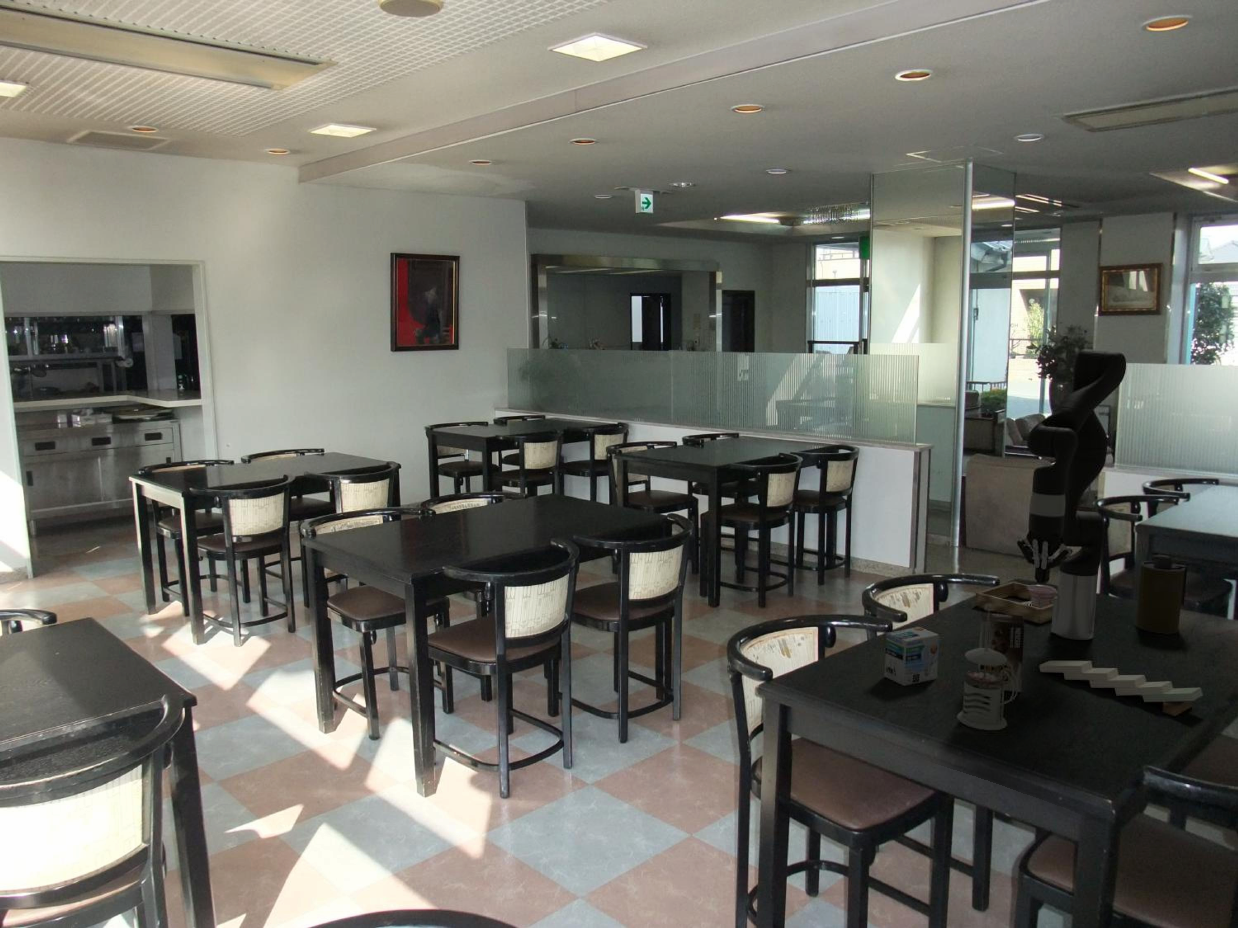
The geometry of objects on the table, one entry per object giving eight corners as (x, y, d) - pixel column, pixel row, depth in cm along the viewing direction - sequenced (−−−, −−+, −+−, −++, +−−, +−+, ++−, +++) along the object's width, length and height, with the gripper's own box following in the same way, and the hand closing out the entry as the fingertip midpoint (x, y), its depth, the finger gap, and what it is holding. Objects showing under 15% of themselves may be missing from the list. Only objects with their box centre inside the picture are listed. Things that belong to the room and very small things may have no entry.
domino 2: (1063, 672, 215) (1106, 673, 208) (1074, 667, 218) (1117, 668, 210) (1064, 679, 215) (1108, 680, 207) (1075, 674, 218) (1118, 675, 210)
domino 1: (1039, 665, 220) (1080, 665, 212) (1050, 660, 223) (1091, 660, 215) (1040, 671, 220) (1082, 672, 212) (1051, 667, 223) (1092, 667, 215)
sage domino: (1142, 694, 202) (1190, 693, 194) (1152, 689, 205) (1200, 687, 197) (1144, 701, 202) (1192, 700, 194) (1154, 696, 205) (1202, 695, 197)
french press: (971, 706, 200) (978, 594, 196) (1024, 723, 192) (1032, 606, 188) (947, 718, 194) (954, 603, 190) (1001, 737, 185) (1009, 616, 181)
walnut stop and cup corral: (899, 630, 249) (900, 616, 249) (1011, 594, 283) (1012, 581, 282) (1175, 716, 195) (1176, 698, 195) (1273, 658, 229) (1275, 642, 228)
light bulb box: (904, 686, 211) (906, 641, 209) (883, 676, 217) (885, 632, 215) (938, 678, 216) (940, 634, 214) (916, 669, 222) (919, 625, 220)
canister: (1142, 632, 248) (1148, 559, 245) (1129, 620, 258) (1136, 550, 255) (1187, 635, 246) (1194, 562, 243) (1173, 623, 256) (1179, 552, 253)
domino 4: (1114, 688, 206) (1160, 686, 198) (1124, 682, 209) (1171, 681, 201) (1116, 695, 206) (1162, 694, 198) (1126, 689, 209) (1173, 688, 201)
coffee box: (1019, 682, 213) (1023, 615, 211) (1021, 693, 207) (1026, 623, 205) (976, 677, 216) (980, 611, 214) (977, 687, 210) (982, 619, 208)
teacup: (1022, 601, 277) (1023, 580, 276) (1066, 607, 270) (1067, 586, 270) (1015, 611, 267) (1016, 590, 266) (1061, 618, 260) (1062, 597, 259)
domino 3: (1089, 680, 211) (1134, 680, 203) (1099, 675, 214) (1144, 674, 206) (1091, 687, 211) (1135, 687, 203) (1101, 682, 214) (1146, 682, 206)
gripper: (1083, 514, 215) (1077, 586, 217) (1028, 505, 225) (1023, 574, 228) (1066, 518, 210) (1060, 592, 213) (1011, 508, 221) (1006, 579, 223)
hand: (1041, 582), depth 220 cm, fingers closed
